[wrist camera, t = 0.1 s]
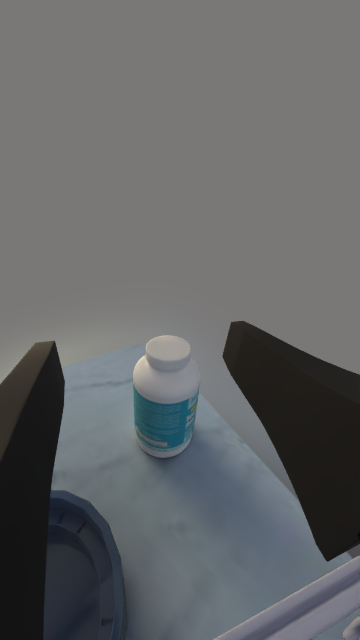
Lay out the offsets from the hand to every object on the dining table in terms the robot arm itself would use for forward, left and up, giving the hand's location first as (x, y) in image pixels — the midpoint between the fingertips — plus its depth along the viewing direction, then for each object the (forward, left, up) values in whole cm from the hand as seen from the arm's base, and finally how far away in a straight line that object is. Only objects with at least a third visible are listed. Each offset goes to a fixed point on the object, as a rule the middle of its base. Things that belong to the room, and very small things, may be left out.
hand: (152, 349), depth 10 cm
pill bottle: (+11, -4, -22) cm, 25 cm away
